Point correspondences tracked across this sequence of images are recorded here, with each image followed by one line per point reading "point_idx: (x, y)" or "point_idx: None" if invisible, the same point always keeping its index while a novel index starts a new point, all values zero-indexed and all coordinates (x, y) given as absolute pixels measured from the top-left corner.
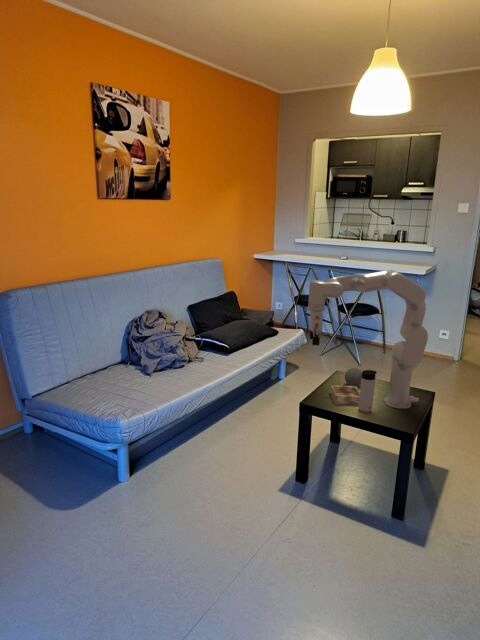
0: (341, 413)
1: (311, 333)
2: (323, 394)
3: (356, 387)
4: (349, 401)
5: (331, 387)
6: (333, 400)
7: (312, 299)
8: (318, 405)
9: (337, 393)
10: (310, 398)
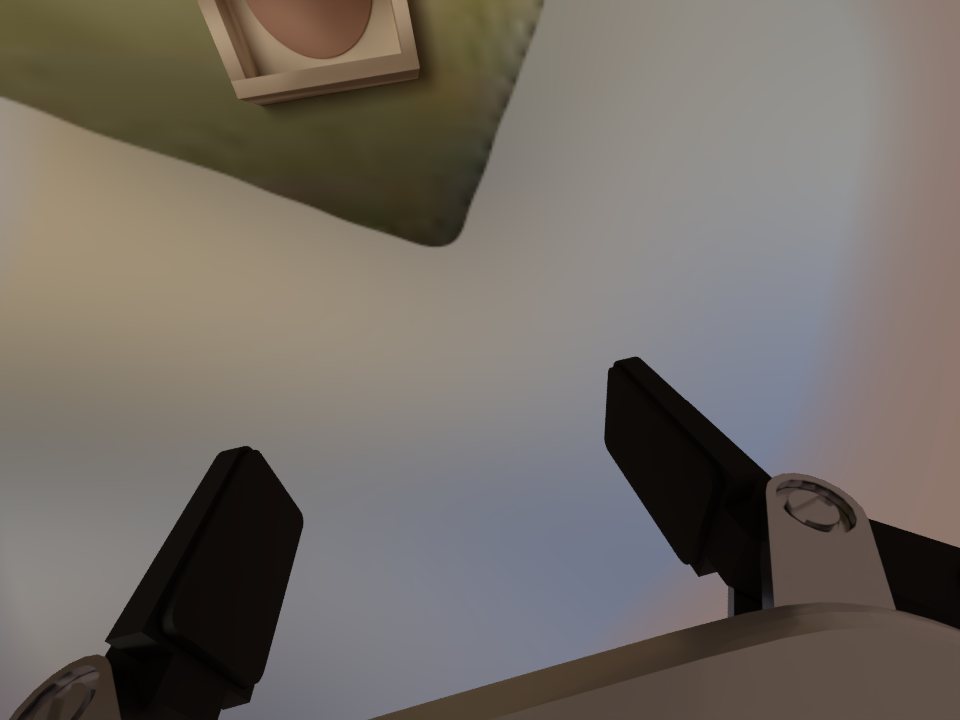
0: (523, 38)
1: (262, 618)
2: (294, 153)
3: None
4: None
5: (267, 94)
6: (372, 85)
7: None
8: (453, 182)
9: (258, 45)
10: (381, 228)
